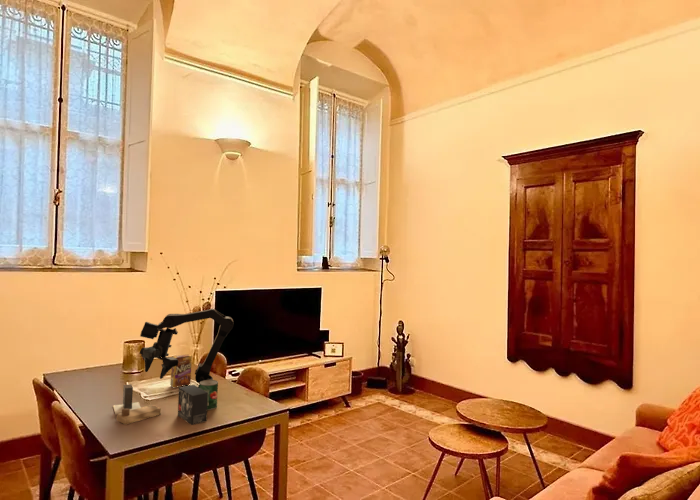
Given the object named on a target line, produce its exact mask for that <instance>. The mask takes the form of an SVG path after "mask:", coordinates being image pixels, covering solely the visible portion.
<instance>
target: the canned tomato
mask: <svg viewBox="0 0 700 500" xmlns="http://www.w3.org/2000/svg"><path fill="white" fill-rule="evenodd" d="M199 384H200V386H199V388H201V389H202V390H204V391H206V392H208V398H207V411H211V410H212V411H213V410H216V409H217V407H218V388H219V381H218V380H215V379H213V380H204V381H201V382H200V383H198V385H199Z"/></svg>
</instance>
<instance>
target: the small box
mask: <svg viewBox="0 0 700 500" xmlns="http://www.w3.org/2000/svg"><path fill="white" fill-rule="evenodd" d="M207 398H208V392H206V391H204V390H202V389H201V388H199V387H198V386H197V385H196V384H190V385H189V386H183V387H178V399H177V401H178V402H177V404H178V405H177V416H178V417H179V418H181V419H182V420H183V421H185V422H186V423H187V424H190V425H191V426H194V425H197V424H202V423H206V422H207V421H208V410H207Z"/></svg>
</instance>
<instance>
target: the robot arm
mask: <svg viewBox="0 0 700 500" xmlns="http://www.w3.org/2000/svg"><path fill="white" fill-rule="evenodd" d="M206 319H212V320H213V321H214V322H215V323H217V324H218V325H219V327H218V332H217V335H216V336H215V338H214V341H213V343H212V345H211V347H210V349H209V351H208V353H207V356H206V357H205V360H204V361H203V362H202V363H201V362H199V363H198V366H197V368H196V369H195V371H194V375H195V377H194V379H195V382H196V383H198V386H197V387H199V386H200V384H199V383H200V382H201V381H204V380H214V377H213V376H212V375H210V373H211V370H212V365H214V361H215V359H216V357H217V356H218V353H219V351H220V348H221V347H222V345H223V342H224V341H225V338H226V337H227V336H228V335H229V334H230V332H231V330H233V328H234V325H235V324H234V319H233V318H232V317H231V316H226V315H224V314H223V313H221V312H219V311H218V310H216V309H215V308H210V309H205V310H199V311H195V312H188V313H167V314H166V315H165V317H163V320H162V321H161V322H159V323H158V324H157V323H156V324H155V323H151V322H148V321H145V322H144V325H143V327H142V329H141V331H140V335H139V337H141V338H146V339H151V340H154V339H155V338H156V339H157V340H156V342H153V345H151V346H148V347H142V348H141V349H140V350H139V354H140V356H141V357H142V358H143V361H144V372H145V373H148V372H149V370H150V368H151V366H152V364H153V362H154V359H158V360H161V361H162V363H161V371H160V375H159V379H161V380H162V379H163V378H164V377H165V376H166V375H167V373H169V371H171V368H172V367H175V366H178V362H179V361H178V359H176V358H173V357H172V356H171V357H169V356H170V354H169V353H168V351H169V349H170V348H172V344H171V342H172V338H173V335H178V333H179V332H178V330H177V328H175V327H178V326H181V325H183V324H186V323H191V322H197V321H201V320H206Z"/></svg>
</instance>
